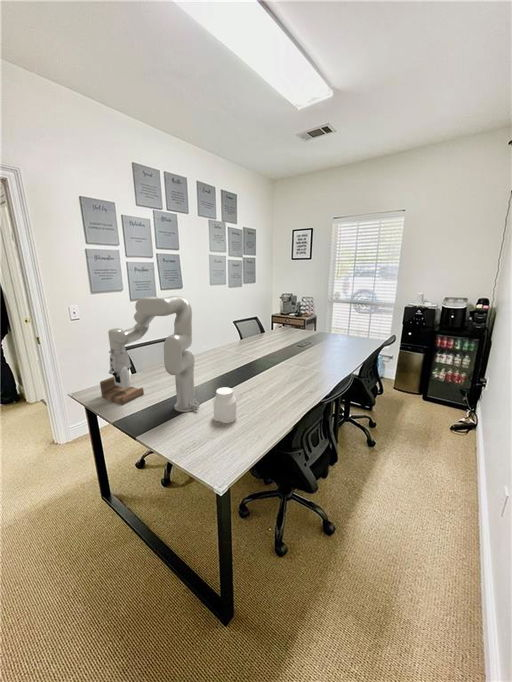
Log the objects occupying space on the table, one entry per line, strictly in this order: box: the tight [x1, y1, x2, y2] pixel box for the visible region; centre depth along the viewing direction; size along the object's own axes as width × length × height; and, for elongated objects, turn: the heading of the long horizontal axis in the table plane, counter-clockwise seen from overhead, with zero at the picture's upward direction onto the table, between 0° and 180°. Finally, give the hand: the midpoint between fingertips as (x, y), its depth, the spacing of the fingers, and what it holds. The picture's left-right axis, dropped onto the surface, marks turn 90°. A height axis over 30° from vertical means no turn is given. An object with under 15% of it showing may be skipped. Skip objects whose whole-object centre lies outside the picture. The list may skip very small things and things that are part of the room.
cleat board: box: [99, 376, 145, 405], centre depth 163 cm, size 18×14×10 cm
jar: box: [212, 386, 238, 424], centre depth 140 cm, size 12×10×15 cm
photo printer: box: [113, 367, 131, 388], centre depth 160 cm, size 10×4×12 cm, turn 61°
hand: (121, 380), depth 161 cm, fingers closed on photo printer, 4 cm apart
